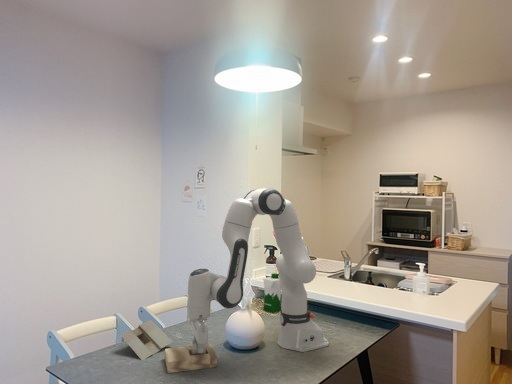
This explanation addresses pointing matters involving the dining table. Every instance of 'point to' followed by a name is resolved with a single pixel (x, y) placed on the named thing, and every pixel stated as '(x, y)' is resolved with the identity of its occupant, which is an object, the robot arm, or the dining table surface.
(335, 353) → the dining table surface
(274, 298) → the milk carton
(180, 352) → the oak well block
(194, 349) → the metal bracket bar
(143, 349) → the beige slotted box
